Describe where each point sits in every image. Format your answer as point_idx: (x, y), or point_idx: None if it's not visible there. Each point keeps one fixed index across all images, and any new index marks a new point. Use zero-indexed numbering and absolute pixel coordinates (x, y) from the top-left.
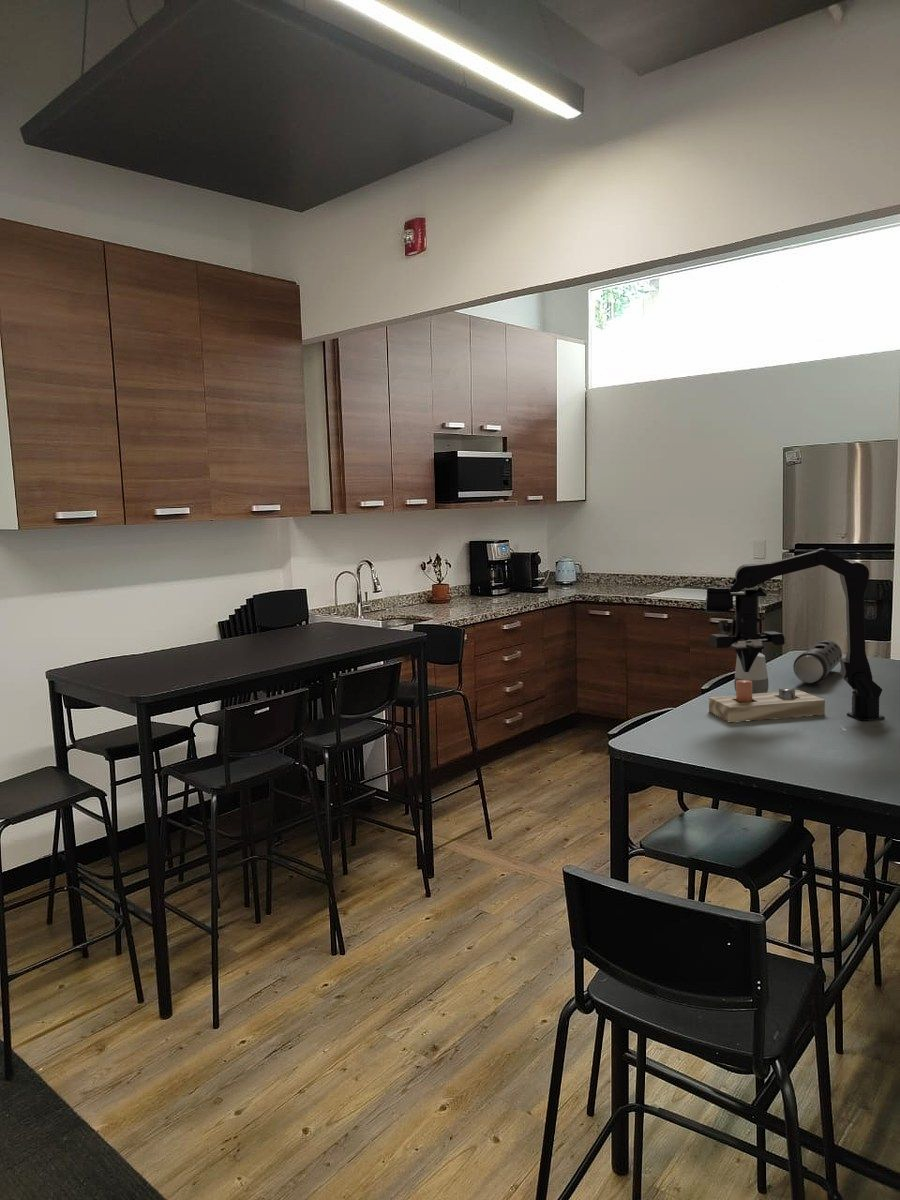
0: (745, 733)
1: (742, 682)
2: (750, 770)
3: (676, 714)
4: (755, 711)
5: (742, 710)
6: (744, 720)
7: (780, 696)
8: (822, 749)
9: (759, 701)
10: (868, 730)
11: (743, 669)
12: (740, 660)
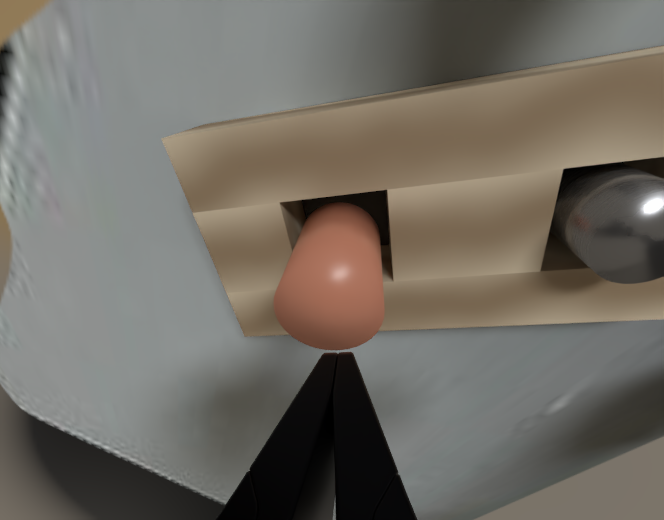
0: (282, 382)
1: (308, 328)
2: None
3: (62, 146)
4: None
5: None
6: None
7: (565, 232)
8: None
9: (401, 280)
10: (613, 422)
11: (316, 372)
12: (262, 467)
